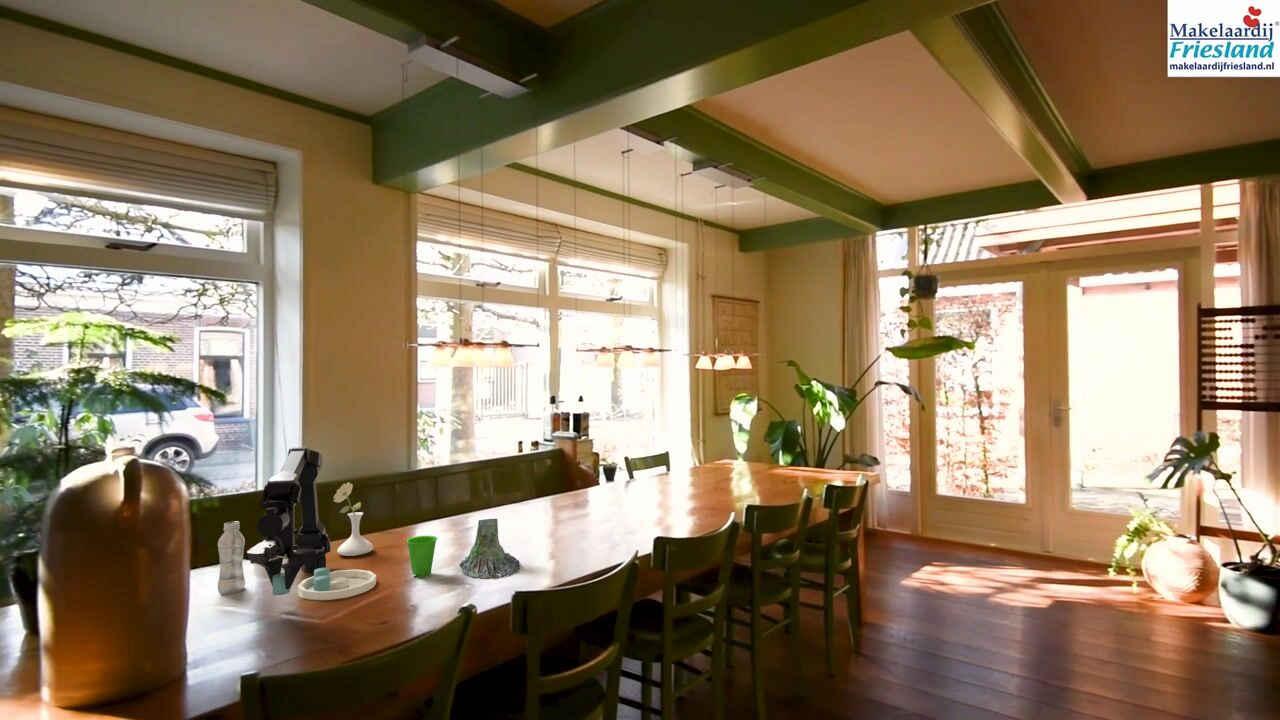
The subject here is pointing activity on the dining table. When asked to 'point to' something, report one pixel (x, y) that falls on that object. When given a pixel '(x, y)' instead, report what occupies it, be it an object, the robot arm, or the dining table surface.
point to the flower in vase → (356, 541)
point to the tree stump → (488, 554)
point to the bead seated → (322, 572)
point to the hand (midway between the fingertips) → (281, 588)
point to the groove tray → (354, 585)
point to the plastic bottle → (231, 559)
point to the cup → (421, 554)
